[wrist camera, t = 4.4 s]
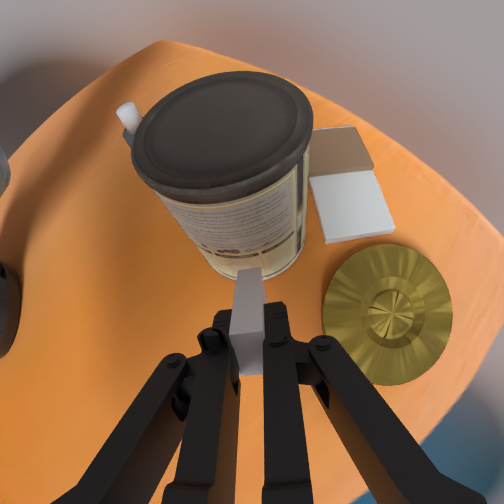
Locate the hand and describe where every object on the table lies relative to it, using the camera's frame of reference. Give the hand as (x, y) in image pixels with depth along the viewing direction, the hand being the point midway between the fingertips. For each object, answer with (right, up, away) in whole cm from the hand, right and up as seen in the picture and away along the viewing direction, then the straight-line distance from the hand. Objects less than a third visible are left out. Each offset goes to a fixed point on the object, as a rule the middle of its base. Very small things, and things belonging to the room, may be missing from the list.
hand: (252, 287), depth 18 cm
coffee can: (0, +4, +9) cm, 10 cm away
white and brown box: (+9, +10, +9) cm, 16 cm away
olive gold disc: (+12, -3, +4) cm, 13 cm away
